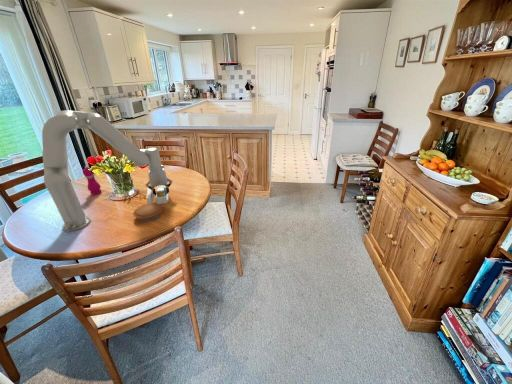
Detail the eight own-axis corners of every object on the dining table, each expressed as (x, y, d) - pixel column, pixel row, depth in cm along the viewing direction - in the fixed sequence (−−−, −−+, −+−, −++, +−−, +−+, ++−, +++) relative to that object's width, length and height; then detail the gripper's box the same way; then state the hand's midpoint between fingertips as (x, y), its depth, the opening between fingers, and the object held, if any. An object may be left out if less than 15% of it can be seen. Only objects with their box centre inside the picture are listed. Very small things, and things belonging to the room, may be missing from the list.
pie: (169, 213, 136) (168, 205, 134) (145, 226, 125) (143, 218, 123) (153, 206, 144) (151, 198, 142) (129, 218, 132) (126, 210, 130)
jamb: (168, 202, 147) (167, 195, 144) (148, 206, 144) (146, 198, 141) (168, 191, 161) (167, 184, 159) (150, 193, 158) (148, 187, 156)
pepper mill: (104, 190, 164) (95, 163, 155) (97, 195, 157) (87, 167, 148) (95, 190, 164) (85, 163, 155) (87, 195, 158) (76, 167, 149)
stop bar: (159, 194, 157) (157, 186, 154) (165, 193, 158) (164, 185, 155) (158, 201, 148) (156, 193, 145) (165, 200, 149) (163, 192, 146)
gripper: (170, 164, 149) (175, 189, 157) (141, 168, 144) (147, 193, 153) (170, 168, 143) (175, 194, 151) (139, 172, 138) (146, 199, 146)
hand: (161, 193), depth 152 cm, fingers open, 7 cm apart
